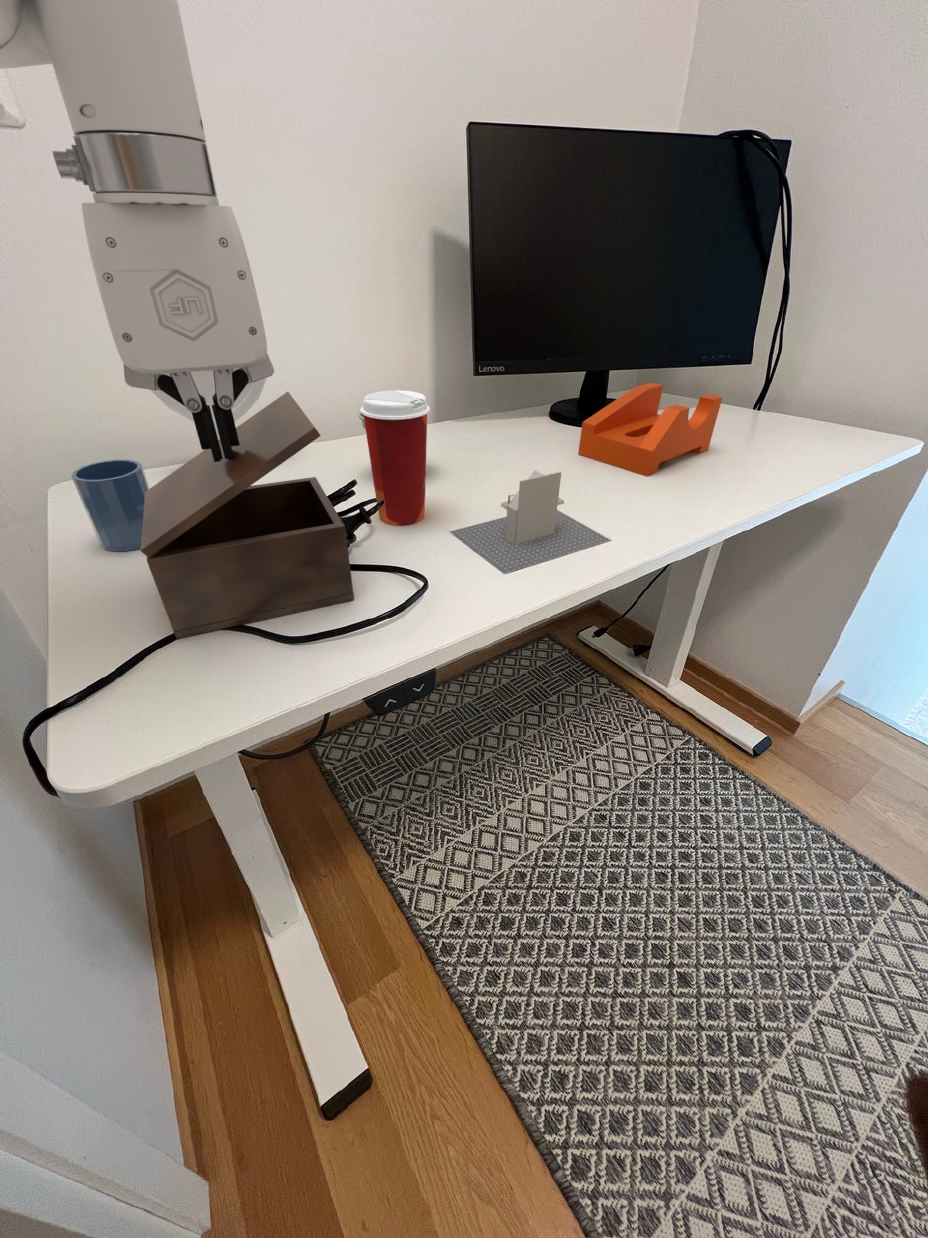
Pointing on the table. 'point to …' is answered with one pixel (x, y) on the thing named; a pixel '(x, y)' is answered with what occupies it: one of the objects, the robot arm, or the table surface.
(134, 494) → the cup
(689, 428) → the orange notched block
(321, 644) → the table surface
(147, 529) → the box lid
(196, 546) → the box
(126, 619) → the table surface
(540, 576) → the table surface
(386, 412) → the paper cup
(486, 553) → the architectural model
